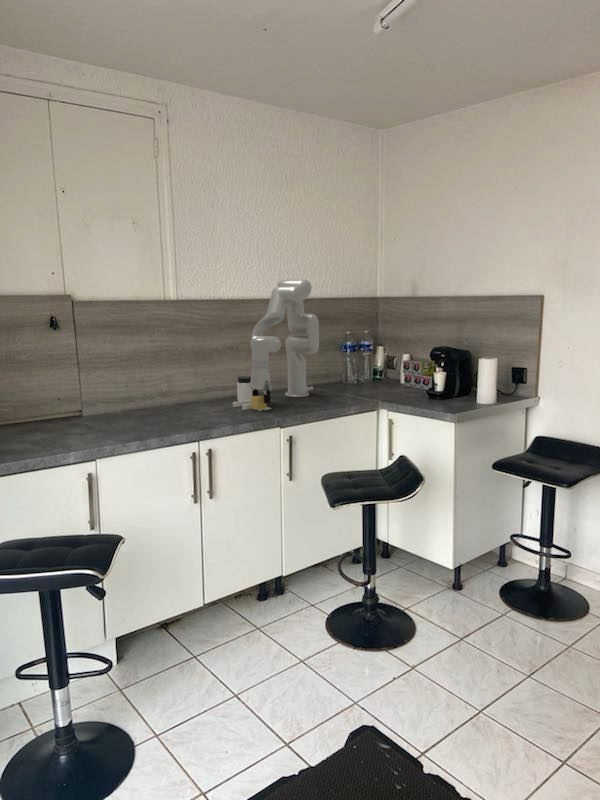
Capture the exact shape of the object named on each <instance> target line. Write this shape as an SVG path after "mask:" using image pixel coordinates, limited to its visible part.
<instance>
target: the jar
mask: <svg viewBox="0 0 600 800" xmlns="http://www.w3.org/2000/svg"><path fill="white" fill-rule="evenodd" d="M250 381H251V375H240V376H237V383H236V391H237V395H236V397H237V402H238V401H245V400H251V396H252V389H251V385H250Z"/></svg>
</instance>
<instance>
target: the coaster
mask: <svg viewBox="0 0 600 800" xmlns="http://www.w3.org/2000/svg"><path fill="white" fill-rule="evenodd" d="M269 409H270V410H272V407H269V406H266V409H260V410H258V411H257V410H256V409H253V408H252V409H251V410H255V411H257V412H263V411H262V410H264V411H270V410H269Z"/></svg>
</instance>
